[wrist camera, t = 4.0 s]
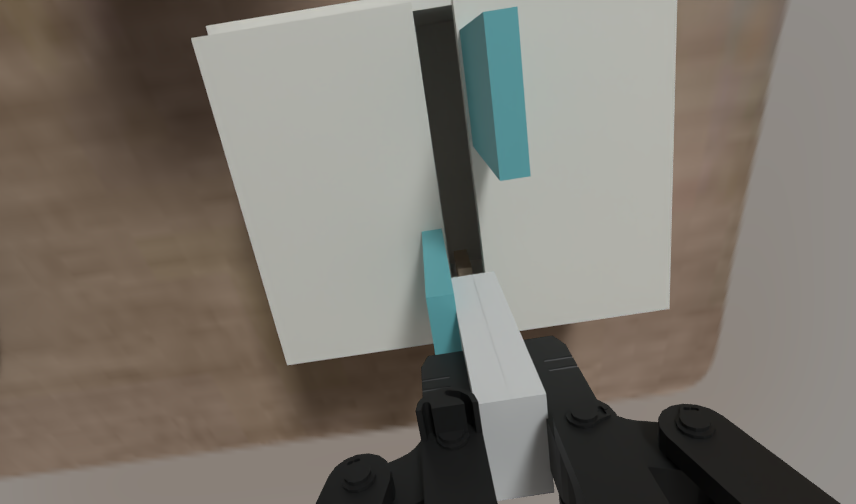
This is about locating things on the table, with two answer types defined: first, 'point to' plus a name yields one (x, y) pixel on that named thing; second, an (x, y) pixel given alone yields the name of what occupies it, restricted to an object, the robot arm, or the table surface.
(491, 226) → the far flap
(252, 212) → the flap
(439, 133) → the carton
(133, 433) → the table surface
